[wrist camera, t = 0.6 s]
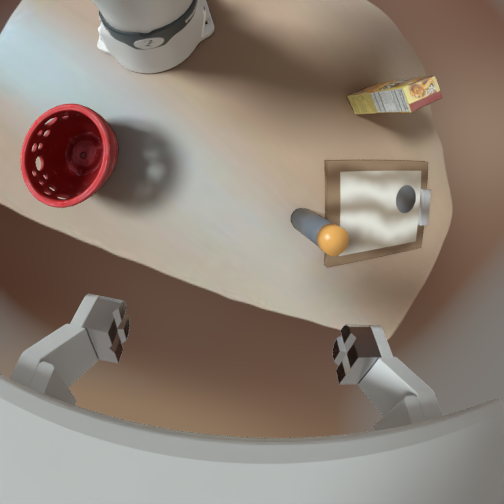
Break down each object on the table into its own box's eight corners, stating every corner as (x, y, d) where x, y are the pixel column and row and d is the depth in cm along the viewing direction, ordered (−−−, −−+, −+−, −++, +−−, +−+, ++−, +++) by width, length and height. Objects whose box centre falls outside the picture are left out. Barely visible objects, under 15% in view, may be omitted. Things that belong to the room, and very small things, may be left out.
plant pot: (98, 208, 42) (74, 228, 31) (41, 166, 36) (5, 175, 25) (143, 139, 40) (130, 137, 29) (83, 98, 34) (53, 85, 24)
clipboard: (324, 160, 48) (331, 161, 46) (424, 161, 53) (431, 162, 51) (324, 264, 55) (329, 269, 53) (417, 245, 60) (424, 249, 58)
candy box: (378, 82, 44) (435, 73, 30) (386, 101, 46) (444, 98, 32) (345, 95, 44) (401, 86, 30) (355, 116, 46) (412, 113, 32)
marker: (288, 207, 49) (322, 229, 38) (310, 205, 50) (349, 225, 38) (289, 230, 51) (322, 258, 39) (311, 227, 52) (348, 253, 40)
